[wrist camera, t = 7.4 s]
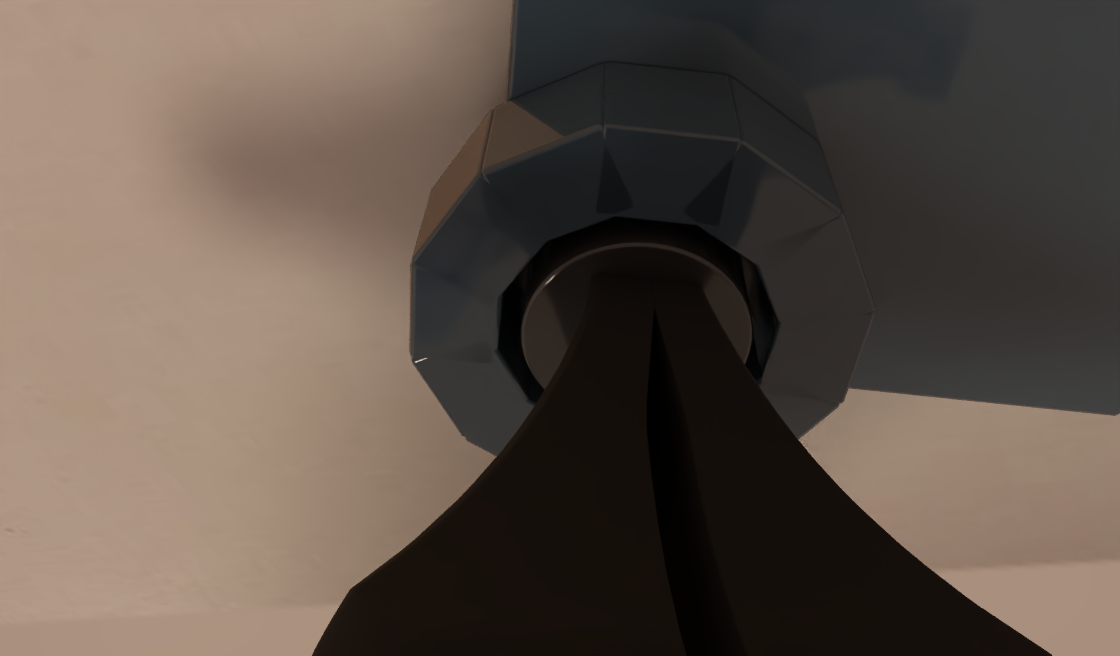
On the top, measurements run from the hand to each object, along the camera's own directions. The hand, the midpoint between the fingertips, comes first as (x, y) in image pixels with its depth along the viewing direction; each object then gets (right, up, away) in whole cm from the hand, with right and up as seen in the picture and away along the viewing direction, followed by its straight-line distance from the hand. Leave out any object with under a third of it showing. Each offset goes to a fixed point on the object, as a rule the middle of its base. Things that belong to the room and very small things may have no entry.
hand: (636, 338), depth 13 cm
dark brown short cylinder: (0, +1, +1) cm, 2 cm away
